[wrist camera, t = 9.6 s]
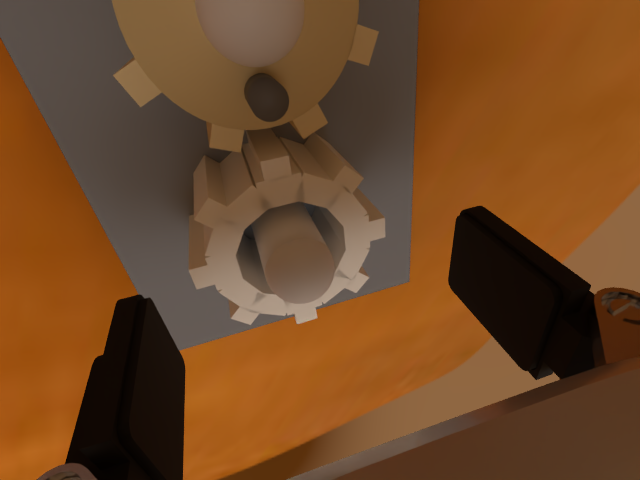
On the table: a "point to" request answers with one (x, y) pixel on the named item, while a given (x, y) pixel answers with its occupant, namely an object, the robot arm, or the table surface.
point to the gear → (268, 192)
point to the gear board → (223, 127)
